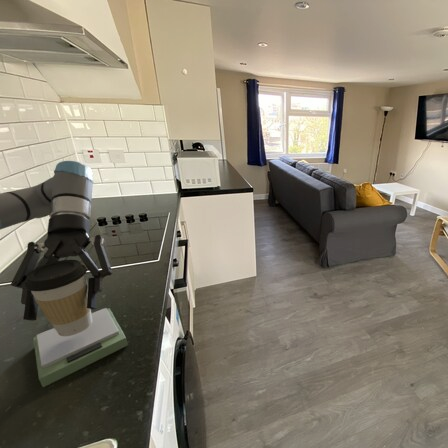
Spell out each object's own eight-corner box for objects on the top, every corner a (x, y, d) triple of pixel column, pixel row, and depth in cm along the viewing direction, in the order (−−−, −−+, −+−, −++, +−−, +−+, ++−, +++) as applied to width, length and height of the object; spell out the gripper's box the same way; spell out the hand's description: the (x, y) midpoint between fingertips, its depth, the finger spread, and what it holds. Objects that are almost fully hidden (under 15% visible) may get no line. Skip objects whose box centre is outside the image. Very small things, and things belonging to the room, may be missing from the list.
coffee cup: (97, 306, 66) (81, 253, 61) (105, 326, 60) (88, 270, 54) (45, 325, 60) (21, 268, 55) (48, 350, 53) (21, 289, 48)
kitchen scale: (36, 345, 62) (31, 335, 61) (111, 315, 72) (108, 305, 71) (42, 387, 52) (37, 376, 51) (128, 345, 62) (125, 334, 61)
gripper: (128, 221, 70) (128, 305, 62) (21, 231, 63) (5, 327, 55) (119, 208, 64) (117, 299, 56) (-3, 217, 56) (-25, 325, 48)
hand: (61, 313), depth 55 cm, fingers closed on coffee cup, 10 cm apart
